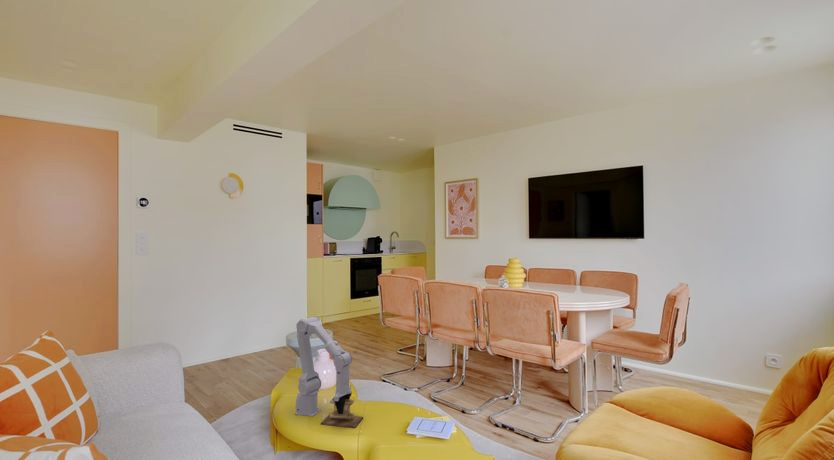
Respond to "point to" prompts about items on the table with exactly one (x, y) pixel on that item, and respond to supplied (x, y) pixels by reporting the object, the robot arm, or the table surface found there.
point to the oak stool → (346, 410)
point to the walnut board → (342, 421)
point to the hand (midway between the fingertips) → (342, 411)
